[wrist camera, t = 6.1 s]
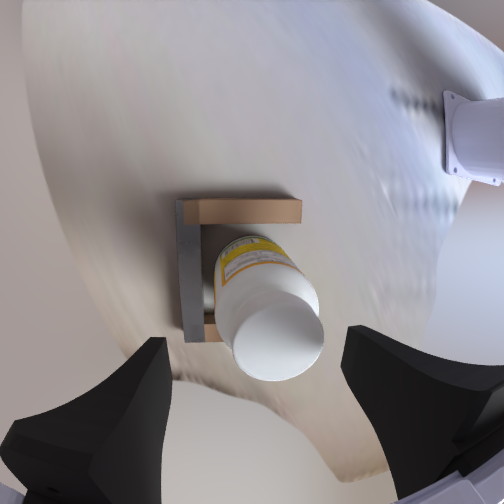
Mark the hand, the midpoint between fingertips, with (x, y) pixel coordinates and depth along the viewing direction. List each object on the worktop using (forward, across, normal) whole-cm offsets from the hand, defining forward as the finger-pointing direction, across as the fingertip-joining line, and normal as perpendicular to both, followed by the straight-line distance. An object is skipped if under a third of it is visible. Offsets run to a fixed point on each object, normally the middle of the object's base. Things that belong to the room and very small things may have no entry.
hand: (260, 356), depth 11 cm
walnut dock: (+10, 0, 0) cm, 10 cm away
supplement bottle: (+11, -1, 0) cm, 11 cm away
